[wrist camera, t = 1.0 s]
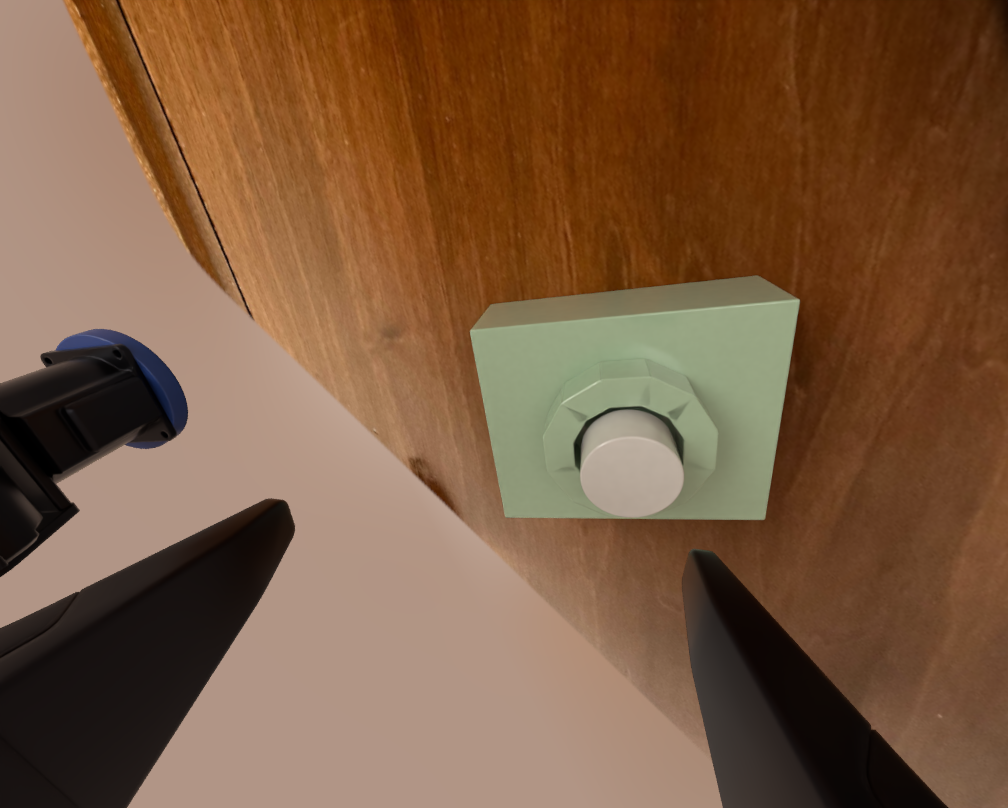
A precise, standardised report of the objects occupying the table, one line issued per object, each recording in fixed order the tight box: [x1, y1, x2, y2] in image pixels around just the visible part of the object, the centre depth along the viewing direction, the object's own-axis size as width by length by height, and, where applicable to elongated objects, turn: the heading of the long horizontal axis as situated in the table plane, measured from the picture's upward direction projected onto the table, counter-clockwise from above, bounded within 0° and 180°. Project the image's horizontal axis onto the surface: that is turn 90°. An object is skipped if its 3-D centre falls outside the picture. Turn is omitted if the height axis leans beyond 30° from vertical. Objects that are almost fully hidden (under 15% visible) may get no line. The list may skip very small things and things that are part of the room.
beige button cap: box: [580, 409, 684, 518], centre depth 16 cm, size 4×4×2 cm
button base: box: [470, 276, 800, 520], centre depth 19 cm, size 12×10×6 cm
